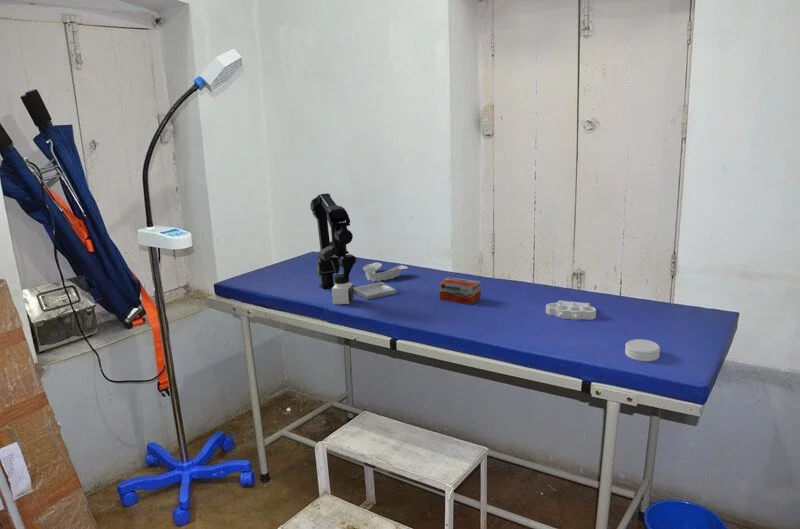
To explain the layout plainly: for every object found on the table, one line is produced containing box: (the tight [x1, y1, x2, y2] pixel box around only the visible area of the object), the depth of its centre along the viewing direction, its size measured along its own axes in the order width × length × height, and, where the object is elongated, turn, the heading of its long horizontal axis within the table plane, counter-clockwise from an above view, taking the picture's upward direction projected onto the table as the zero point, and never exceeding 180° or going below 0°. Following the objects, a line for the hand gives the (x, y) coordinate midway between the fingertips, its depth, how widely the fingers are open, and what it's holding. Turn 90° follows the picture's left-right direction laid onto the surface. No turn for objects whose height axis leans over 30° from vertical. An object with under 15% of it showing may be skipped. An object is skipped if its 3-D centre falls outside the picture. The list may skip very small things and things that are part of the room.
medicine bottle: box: [331, 272, 355, 305], centre depth 245 cm, size 7×7×12 cm
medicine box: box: [439, 276, 482, 306], centre depth 241 cm, size 15×8×8 cm, turn 59°
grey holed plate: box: [545, 299, 597, 321], centre depth 221 cm, size 3×18×15 cm
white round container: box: [624, 338, 661, 362], centre depth 183 cm, size 10×10×4 cm
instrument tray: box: [353, 281, 397, 301], centre depth 256 cm, size 14×14×2 cm
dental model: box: [362, 261, 408, 282], centre depth 278 cm, size 23×17×5 cm
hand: (341, 275), depth 243 cm, fingers open, 9 cm apart
